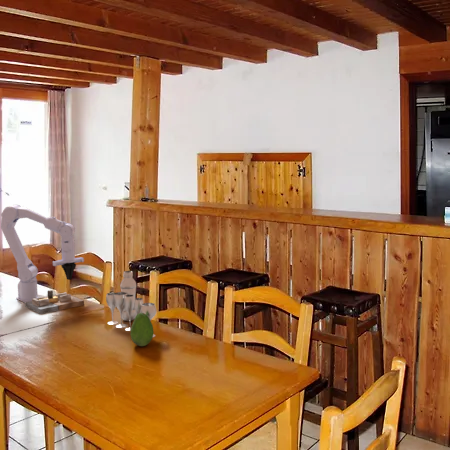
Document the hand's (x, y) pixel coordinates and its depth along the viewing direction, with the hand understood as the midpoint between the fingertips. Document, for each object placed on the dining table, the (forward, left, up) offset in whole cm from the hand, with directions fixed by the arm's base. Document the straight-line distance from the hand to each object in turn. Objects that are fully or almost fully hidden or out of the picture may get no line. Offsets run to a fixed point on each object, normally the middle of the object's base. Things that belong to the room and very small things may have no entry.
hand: (69, 279), depth 253 cm
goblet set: (+56, -4, -10) cm, 57 cm away
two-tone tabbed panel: (+5, -10, -9) cm, 15 cm away
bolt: (+5, -13, -7) cm, 16 cm away
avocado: (+74, -11, -10) cm, 75 cm away
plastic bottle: (+46, +2, -10) cm, 47 cm away
